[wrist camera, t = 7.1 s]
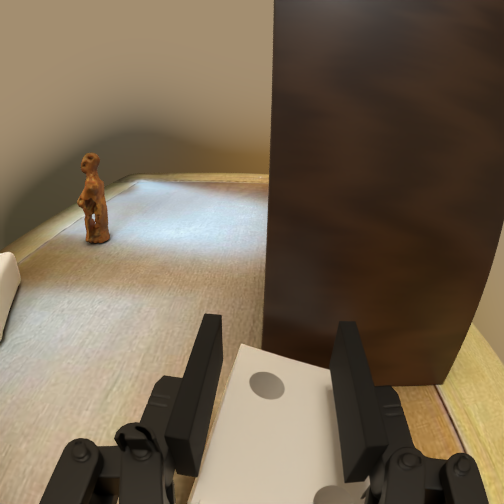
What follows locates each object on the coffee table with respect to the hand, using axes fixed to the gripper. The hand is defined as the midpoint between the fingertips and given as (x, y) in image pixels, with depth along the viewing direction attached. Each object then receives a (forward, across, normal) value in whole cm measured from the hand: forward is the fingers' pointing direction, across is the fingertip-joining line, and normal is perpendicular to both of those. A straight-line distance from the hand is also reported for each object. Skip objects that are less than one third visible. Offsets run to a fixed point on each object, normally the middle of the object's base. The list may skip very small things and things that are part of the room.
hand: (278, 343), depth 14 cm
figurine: (+25, -24, -6) cm, 35 cm away
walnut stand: (+10, +6, -6) cm, 13 cm away
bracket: (-5, +1, -6) cm, 8 cm away
